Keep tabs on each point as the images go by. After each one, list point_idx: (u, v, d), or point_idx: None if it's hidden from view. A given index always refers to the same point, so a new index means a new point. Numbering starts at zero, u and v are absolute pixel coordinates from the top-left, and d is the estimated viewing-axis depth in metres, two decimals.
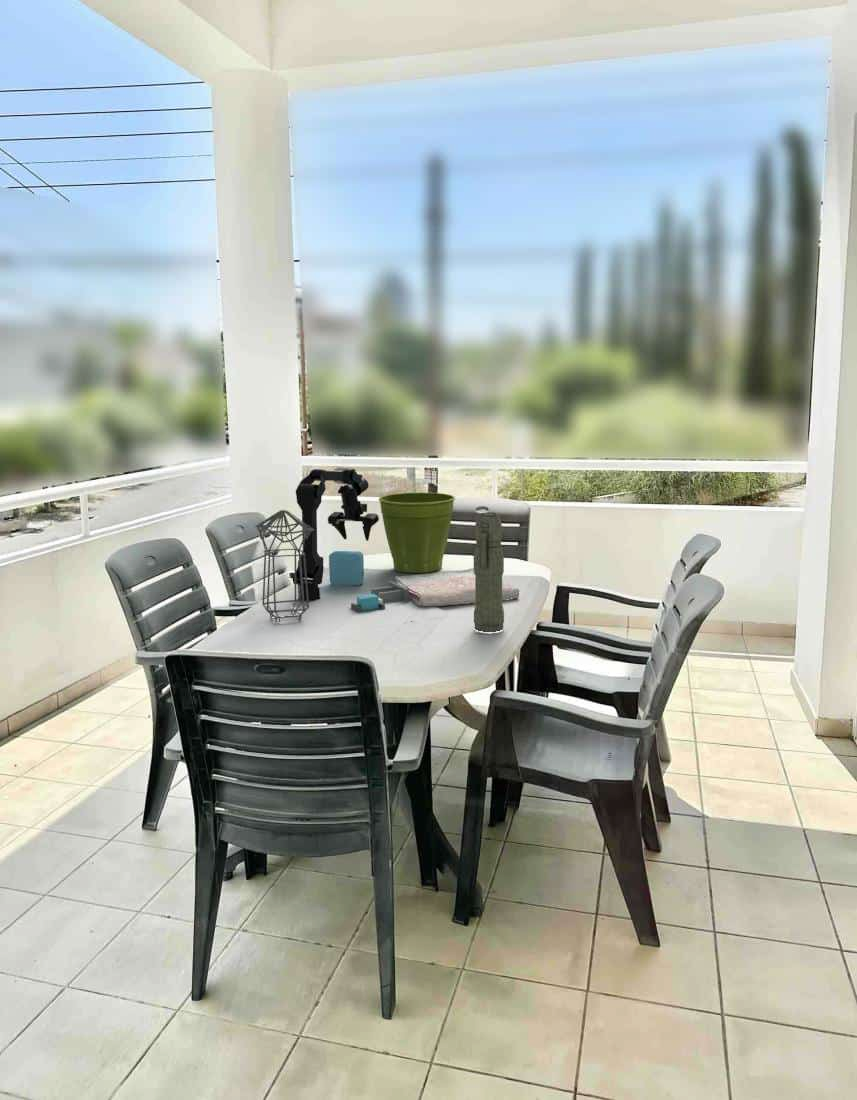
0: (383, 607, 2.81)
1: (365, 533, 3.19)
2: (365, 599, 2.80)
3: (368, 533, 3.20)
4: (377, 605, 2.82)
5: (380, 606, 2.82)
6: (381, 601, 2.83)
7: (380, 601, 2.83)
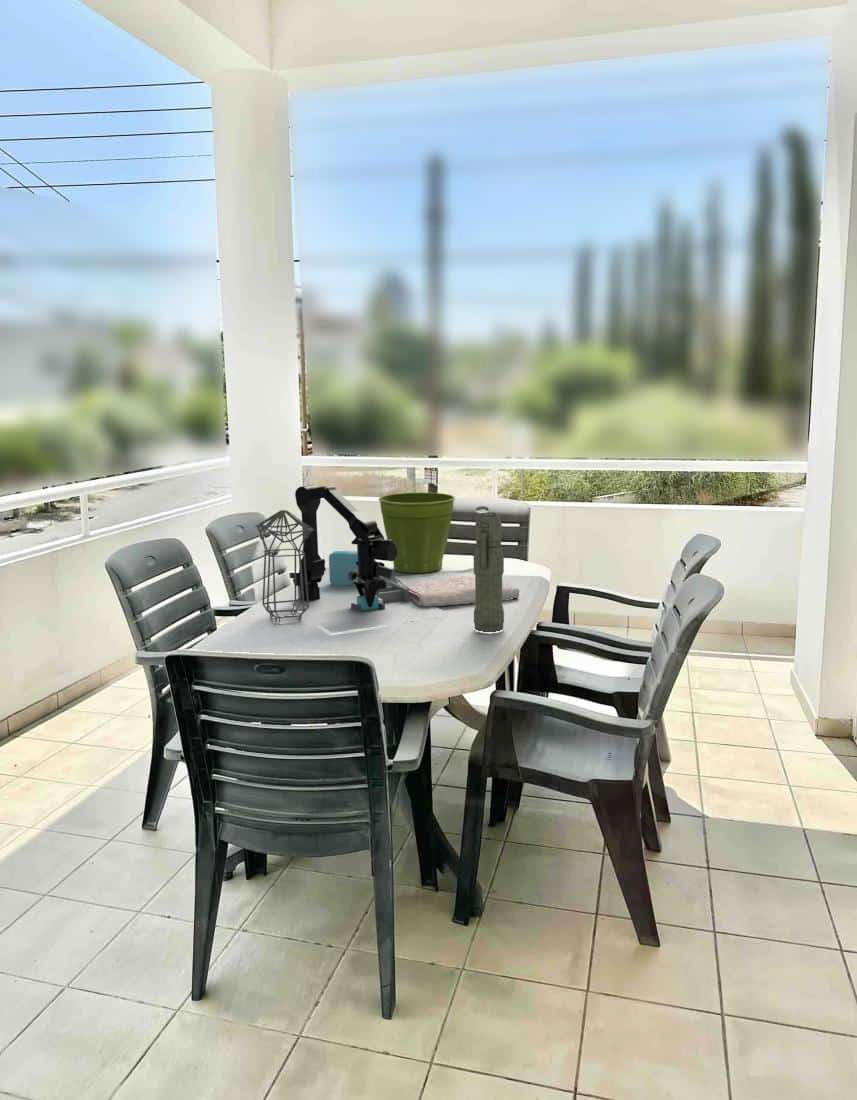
0: (383, 607, 2.81)
1: (365, 596, 2.79)
2: (365, 599, 2.80)
3: (370, 598, 2.79)
4: (377, 605, 2.82)
5: (380, 606, 2.82)
6: (381, 601, 2.83)
7: (380, 601, 2.83)
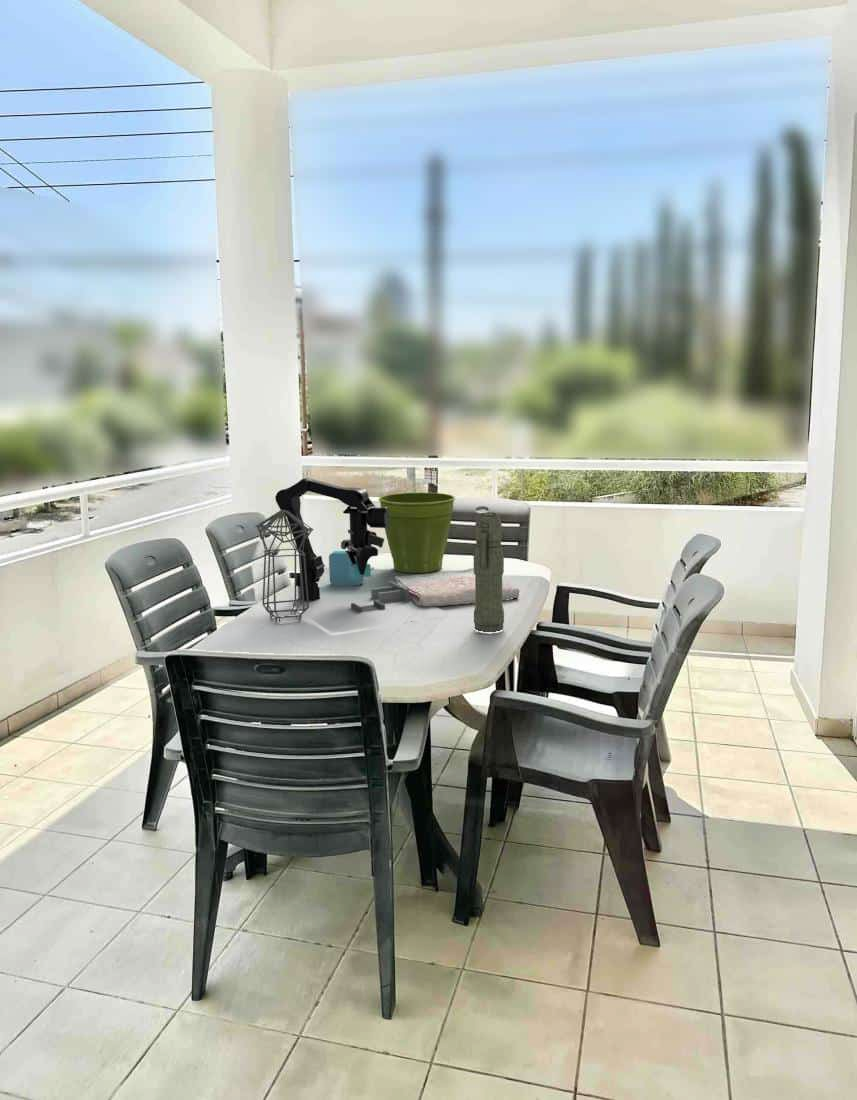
0: (383, 607, 2.81)
1: (357, 564, 2.85)
2: (357, 567, 2.86)
3: (362, 566, 2.85)
4: (369, 573, 2.88)
5: (380, 606, 2.82)
6: (373, 569, 2.89)
7: (372, 569, 2.89)
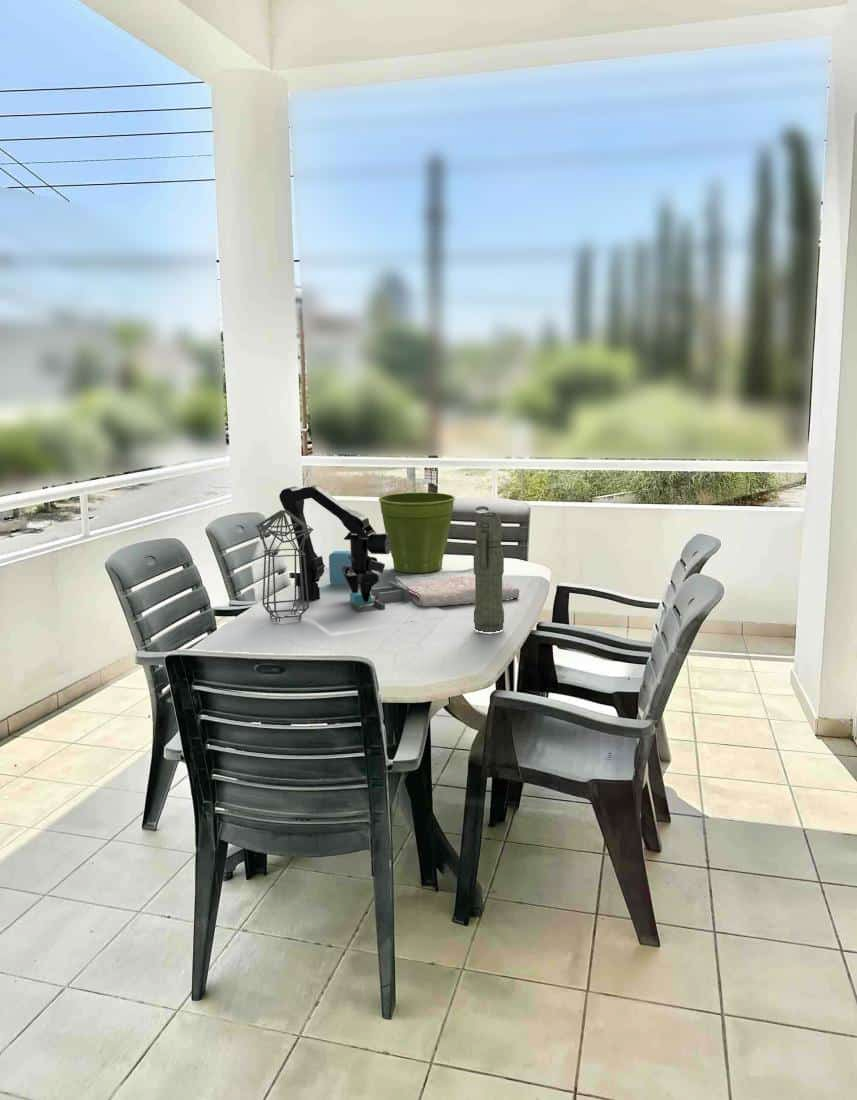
0: (383, 607, 2.81)
1: (361, 592, 2.84)
2: (358, 596, 2.88)
3: (366, 593, 2.85)
4: (370, 602, 2.90)
5: (380, 606, 2.82)
6: (374, 598, 2.91)
7: (373, 598, 2.91)
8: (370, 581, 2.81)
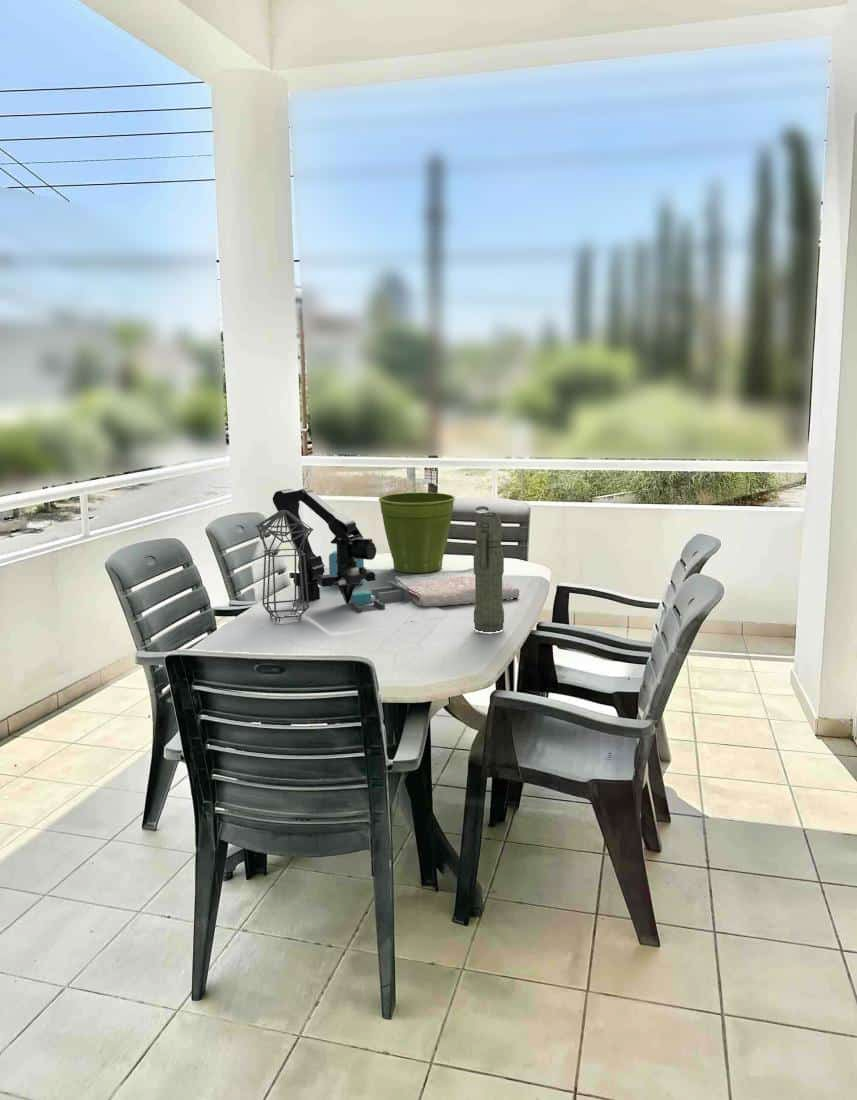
0: (383, 607, 2.81)
1: None
2: (358, 596, 2.88)
3: (343, 594, 2.88)
4: (370, 602, 2.90)
5: (380, 606, 2.82)
6: (374, 598, 2.91)
7: (373, 598, 2.91)
8: (319, 583, 2.83)
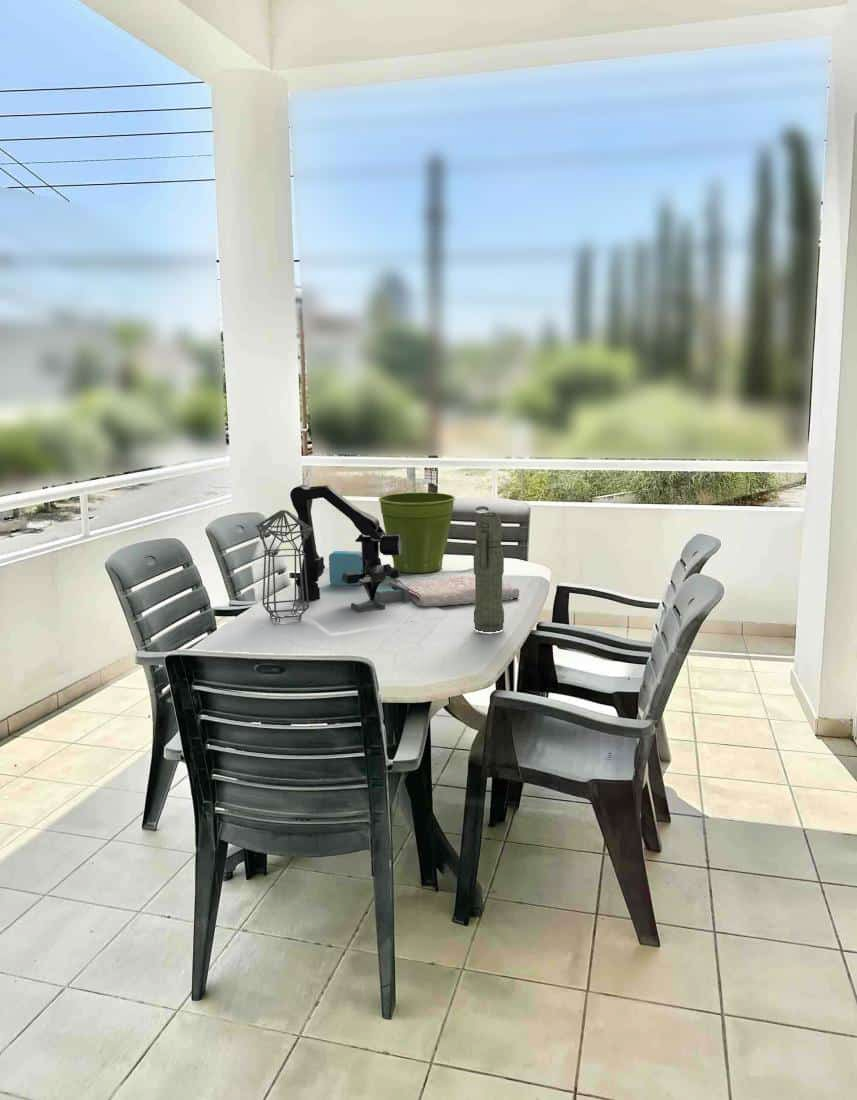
0: (383, 607, 2.81)
1: None
2: None
3: (367, 591, 2.92)
4: None
5: (380, 606, 2.82)
6: None
7: None
8: (344, 580, 2.87)
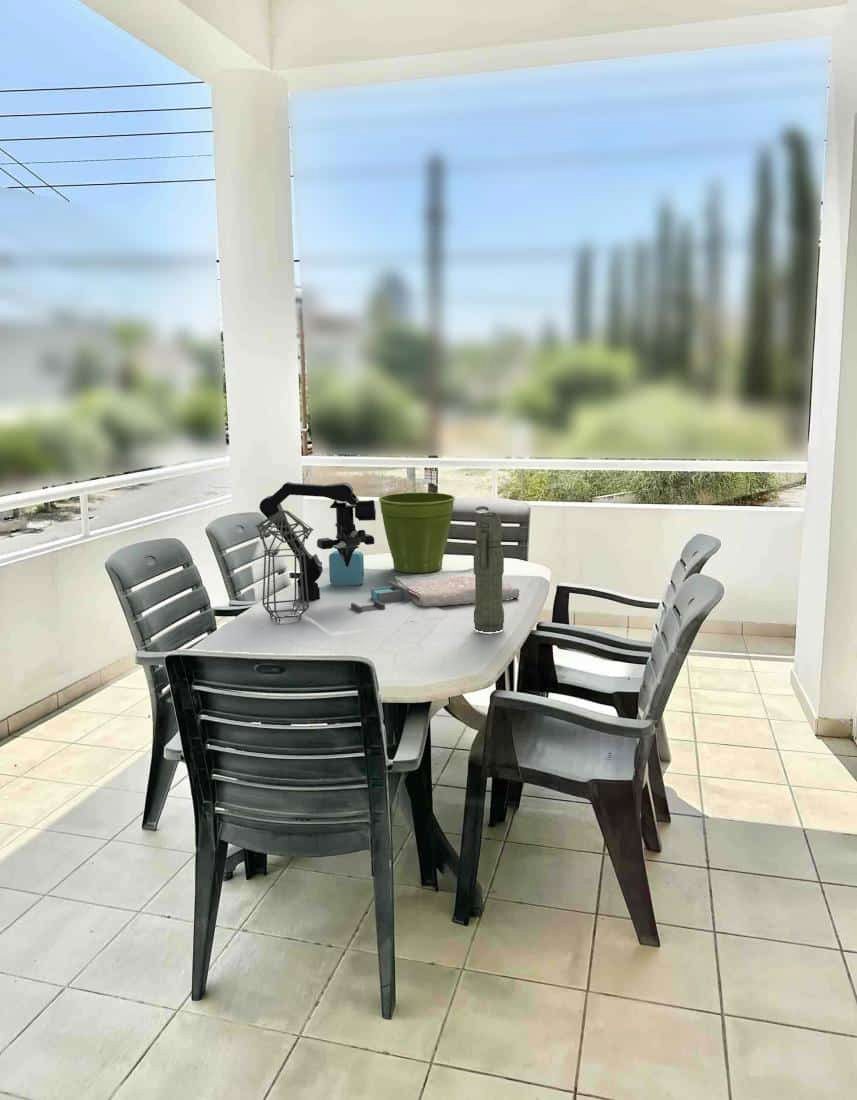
0: (383, 607, 2.81)
1: None
2: None
3: (342, 557, 2.93)
4: None
5: (380, 606, 2.82)
6: None
7: None
8: (319, 546, 2.89)
